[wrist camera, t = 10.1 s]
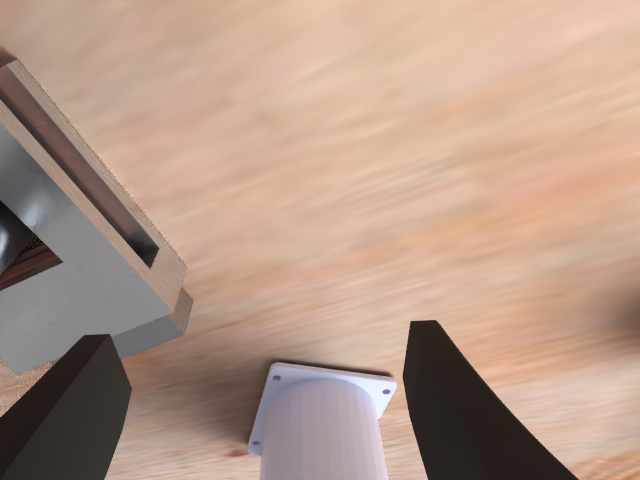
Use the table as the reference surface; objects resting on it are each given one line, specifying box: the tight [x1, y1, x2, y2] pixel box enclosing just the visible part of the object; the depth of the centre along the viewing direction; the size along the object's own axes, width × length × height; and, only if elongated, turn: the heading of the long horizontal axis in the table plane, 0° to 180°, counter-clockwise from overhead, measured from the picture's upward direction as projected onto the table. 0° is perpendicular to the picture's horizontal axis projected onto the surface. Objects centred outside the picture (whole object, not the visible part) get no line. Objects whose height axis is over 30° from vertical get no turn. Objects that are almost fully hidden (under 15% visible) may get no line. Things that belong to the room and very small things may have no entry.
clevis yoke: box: [0, 59, 193, 375], centre depth 19 cm, size 13×9×3 cm
